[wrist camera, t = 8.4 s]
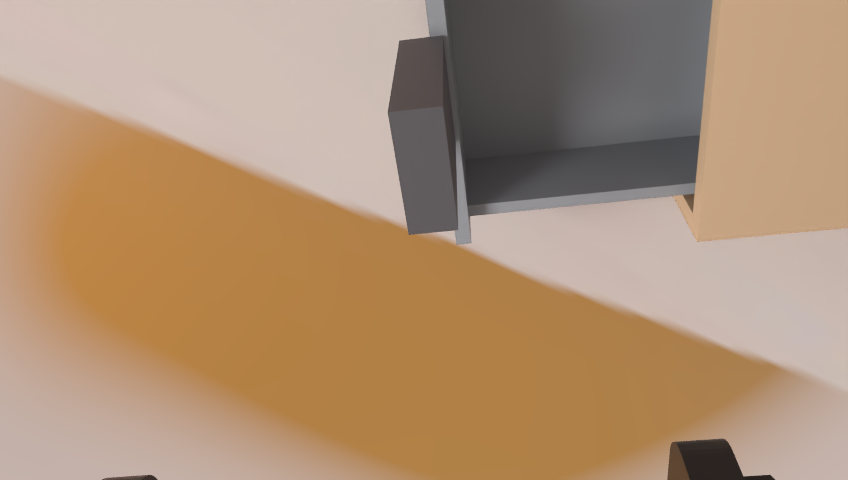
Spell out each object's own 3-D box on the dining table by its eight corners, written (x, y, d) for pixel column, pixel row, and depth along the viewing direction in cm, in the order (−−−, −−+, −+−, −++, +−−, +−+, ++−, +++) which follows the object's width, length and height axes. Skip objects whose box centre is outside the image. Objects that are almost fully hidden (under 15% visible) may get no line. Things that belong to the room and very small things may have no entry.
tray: (774, -185, 25) (978, -155, 15) (733, 151, 32) (854, 312, 23) (388, -129, 26) (356, -69, 17) (432, 182, 33) (428, 347, 24)
